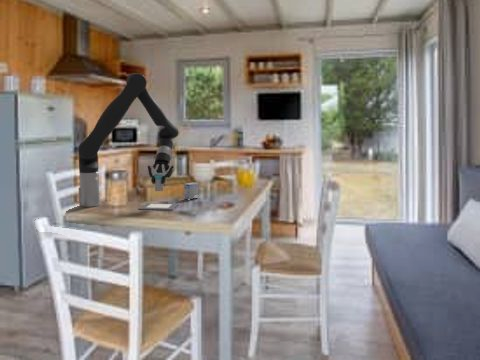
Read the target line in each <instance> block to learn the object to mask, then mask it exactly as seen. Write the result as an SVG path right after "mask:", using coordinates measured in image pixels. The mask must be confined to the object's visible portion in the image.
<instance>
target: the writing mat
mask: <svg viewBox="0 0 480 360" xmlns="http://www.w3.org/2000/svg"><path fill="white" fill-rule="evenodd" d="M178 207H179V204H178V203H149V202H148V203H145V204H143V205H142V206H140V207H139V208H138V210H140V211H141V210H142V211H143V210H144V211H147V210H148V211H174V210H175V209H176V208H178ZM174 208H175V209H174ZM173 209H174V210H173Z"/></svg>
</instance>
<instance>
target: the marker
mask: <svg viewBox="0 0 480 360" xmlns="http://www.w3.org/2000/svg"><path fill="white" fill-rule="evenodd" d="M162 176H163V173H158V174H155V175H154V177H155V184H154V191H155V192H163V191H164V184H162V183H161V180H162Z"/></svg>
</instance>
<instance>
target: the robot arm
mask: <svg viewBox="0 0 480 360" xmlns="http://www.w3.org/2000/svg"><path fill="white" fill-rule="evenodd" d="M126 77H127V78H126V81H125V82H126V85H125V86H124V88H123V89H122V91H121V92H120V93H119V94H118V95H117V97H115V98H114V99H112V101H111V102H110V103H109V104H108V105H107V106H106V108H105V109H104V110H103V112H102V114H101V115H100V116H99V118H98V119H97V122H96V124H95V126H94V128H93V130H92V131H91V132H90V134H88V136H87V137H86V138H85V139H84V140H83V141H82V142H80V144H79V145H78V149H77V152H78V168H79V169H78V171H79V187H78V201H79V203H78V206H79V207H84V208H85V207H86V208H92V207H98V206H100V204H101V203H100V201H101V199H100V179H99V178H100V177H99V174H100V173H99V154H98V153H99V151H100V149H101V146H102V145H103V144H104V141H105V140H106V139H107V137H109V136H110V134H111V133H112V132H114V130H115V129H116V127H118V125H119V123H120V122H121V121H122V119H123V118H124V116H125V115H126V113H127V112H128V110H129V109H130V107H131V106H132V104H133V103H134V101H135V100H136V99H138V100H139V102H140V103H141V104H142V106H143V107H144V109H145V110H146V112H147V114H148V115H149V117H150V118H151V120H152V121H153V123H154V125H155V126H156V127H162V128H161V129H160V130H159V132H158V140H159V141H158V142H159V144H158V149H157V150H156V154H155V155H156V156H155V159H154V164H153V165H147V171H148V175H149V177H150V178H151V180H150V181H151V183H152V185H155V177H154V175H155V174H163V176H162V180H161V183H162V184H163V185H164V184H165V183H166V179H168V178H170V177H171V176H172V174H173V173H174V171H175V167H174V165H170V164H171V160H172V155H173V154H172V153H173V152H172V150H173V145H174V142H173V140H172V139H174V138H175V139H176V138H177V137H178V136H179V129H178V127H177V126H176V124H174V123H173V122H172V121H171V120H170V119H169V118H168V117H167V116H166V114H165V112H164V111H163V109H162V107H160V105H159V104H158V103H157V102H156V101H155V99H154V98H153V97H152V95H151V94H150V92H149V91H148V89H147V82H148V81H147V78H146V76H145V75H143V74H142V73H139V72H132V73H130V74H129V75H127V76H126ZM152 171H153V172H152Z"/></svg>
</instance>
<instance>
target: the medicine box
mask: <svg viewBox="0 0 480 360" xmlns="http://www.w3.org/2000/svg"><path fill="white" fill-rule="evenodd" d="M195 195H199V196H200V183H198V182H189V183H184V184H183V199H184V200H185V199H192V198H193V197H194V196H195Z"/></svg>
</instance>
